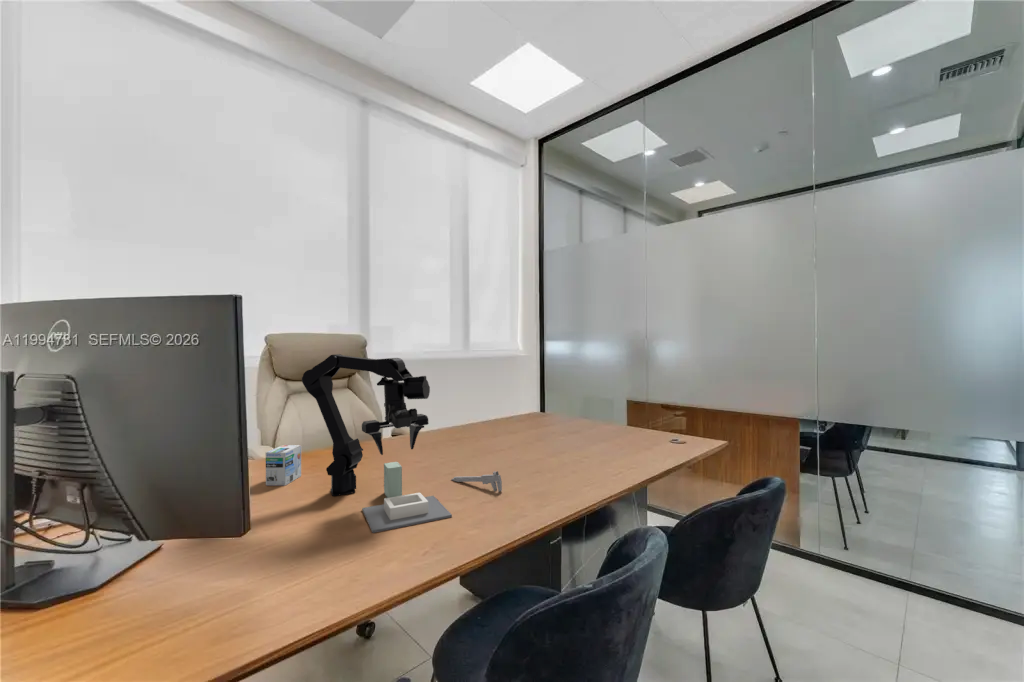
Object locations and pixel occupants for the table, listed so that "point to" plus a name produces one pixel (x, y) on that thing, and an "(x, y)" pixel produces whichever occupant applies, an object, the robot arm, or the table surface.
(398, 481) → the key block
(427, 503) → the socket tray
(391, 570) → the table surface
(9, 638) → the table surface
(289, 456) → the light bulb box
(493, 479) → the caliper
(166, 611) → the table surface
